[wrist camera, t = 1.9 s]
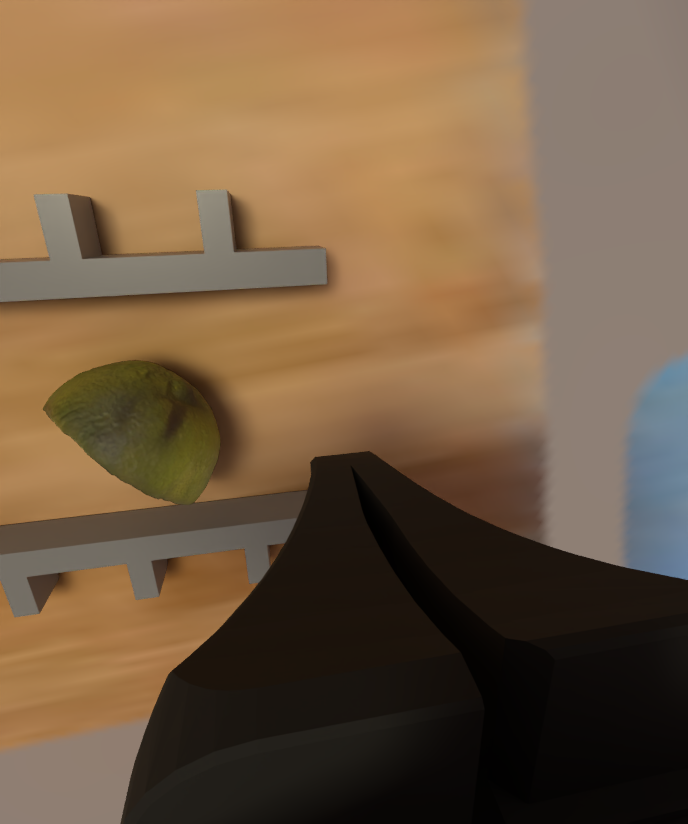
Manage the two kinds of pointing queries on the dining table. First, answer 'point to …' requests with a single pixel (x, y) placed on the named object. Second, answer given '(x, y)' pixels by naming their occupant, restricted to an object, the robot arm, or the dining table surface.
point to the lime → (141, 427)
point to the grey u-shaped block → (164, 526)
